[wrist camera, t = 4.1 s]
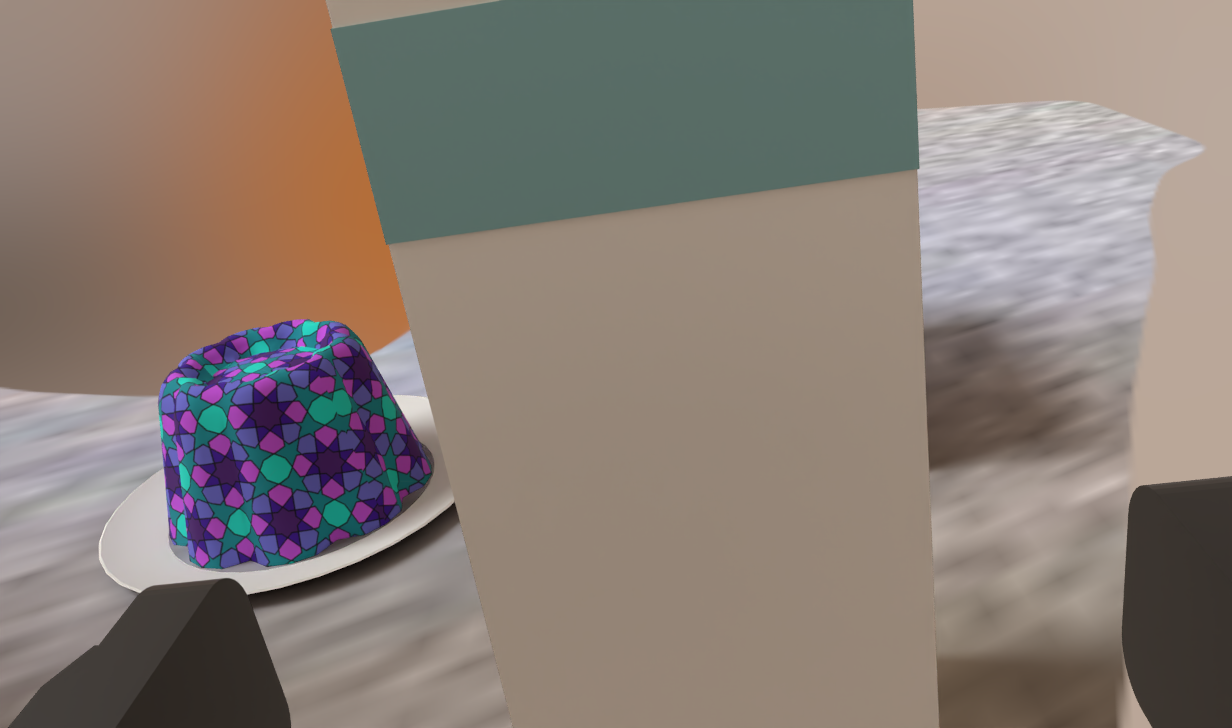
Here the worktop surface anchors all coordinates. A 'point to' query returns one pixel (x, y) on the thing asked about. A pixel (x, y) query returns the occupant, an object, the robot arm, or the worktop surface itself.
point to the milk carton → (669, 344)
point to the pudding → (277, 463)
